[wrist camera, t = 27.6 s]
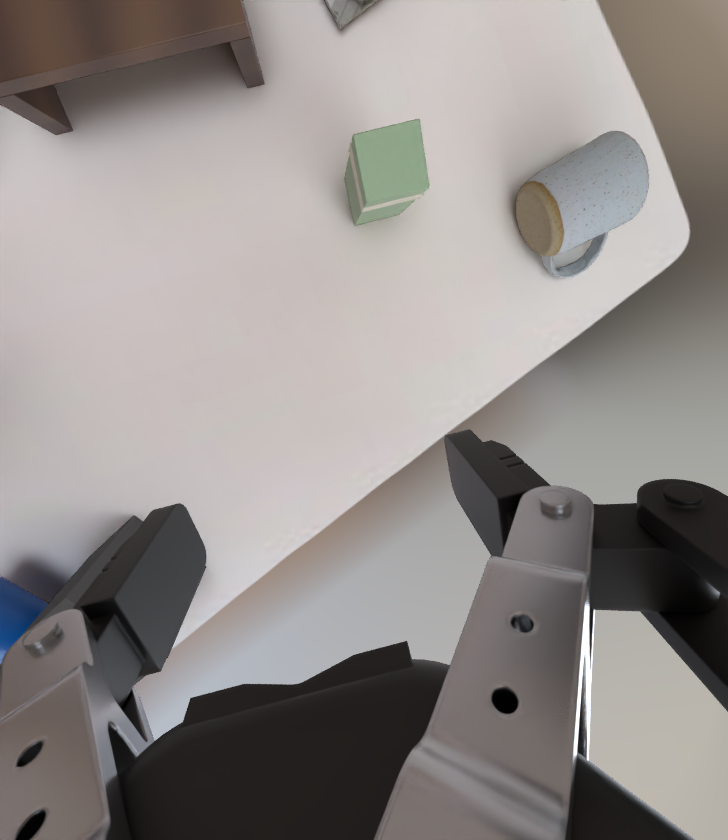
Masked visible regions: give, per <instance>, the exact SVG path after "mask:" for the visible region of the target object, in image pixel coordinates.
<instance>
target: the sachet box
mask: <svg viewBox="0 0 728 840" xmlns="http://www.w3.org/2000/svg"><path fill="white" fill-rule="evenodd" d="M345 184H346V189H347V193H348V198H349V203H350V208H351V212H352V217H353V222H354V225H359V224H363V223H367V222H371V221H375V220H379V219H383V218H388V217H392V216H396V215H399V214H400V213H401V212H403V211H404V210H405V209H406V208H407V207H408V206H409V205H410V204H411V203H413V202H414V201H415V200H416V199H418V198H420V197H421V196H422V195H423V194H424V192H425V191H426V190H427V189H428V188H429V181H428V174H427V167H426V160H425V153H424V146H423V139H422V132H421V125H420V119H415V120H411V121H407V122H403V123H399V124H395V125H391V126H387V127H382V128H378V129H374V130H370V131H366V132H362V133H358V134H354V135H353V138H352V143H350V148H349V158H348V163H347V168H346V173H345Z"/></svg>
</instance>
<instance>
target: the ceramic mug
mask: <svg viewBox="0 0 728 840" xmlns="http://www.w3.org/2000/svg"><path fill="white" fill-rule="evenodd" d="M648 187H649V174H648V166H647V162H646V158H645V155H644V153H643V151H642V149H641V147H640V146H639V144H638V143H637V142H636V140H635V139H633V138H632V137H631V136H629V135H628V134H626V133H624V132H621V131H610V132H607V133H605V134H603V135H601V136H599V137H597V138H596V139H594V140H592V141H591V142H589V143H587V144H586V145H584V146H582V147H580V148H579V149H577V150H575V151H574V152H572V153H570V154H569V155H567V156H566V157H564V158H562V159H561V160H559V161H557V162H555V163H554V164H552V165H550V166H549V167H547V168H545V169H543V170H542V171H540V172H538V173H537V174H536V175H534V176H533V177H532V178H531V179H529V180H528V181H527V182H526V183H525V184H524V185H523V186H522V187H521V189H520V191H519V194H518V197H517V201H516V217H517V222H518V226H519V229H520V232H521V234H522V236H523V238H524V240H525V242H526V243H527V245H528V246H529V247H530V248H531V249H532V250H533V251H534V252H536V253H537V254H539V255H542V262H543V264H544V267H545V269H546V270H547V271H548V272H549V273H551V274H552V275H554V276H556V277H559V278H569V277H573V276H575V275H577V274H580V273H581V272H583V271H584V270H586V269H587V268H588V267H589V266H590V265H592V263H593V262H594V261H595V260H596V259H597V257H598V256H599V254H600V252H601V251H602V249H603V247H604V244H605V242H606V239H607V235H608V231H610V230H612V229H614V228H616V227H618V226H620V225H623V224H625V223H626V222H628V221H630V220H631V219H633V218H634V217H635V216H636V215H637V214H638V213H639V211H640V210H641V208H642V207H643V204H644V202H645V200H646V196H647V192H648ZM590 239H593V240H592V242H591V245H590V247H589V248H588V250H587V252H586V253H585V254H584V256H583V257H582V258H581V259H579V260H578V261H577V262H575V263H573V264H570V265H568V266H565V267H560V268H559V269H557V270H556V269H555V268H554V265H553V258H552V257H553V256H554V255H558V254H561V253H564V252H566V251H569V250H571V249H573V248H575V247H577V246H578V245H580V244H582V243H584V242H586V241H588V240H590Z"/></svg>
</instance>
